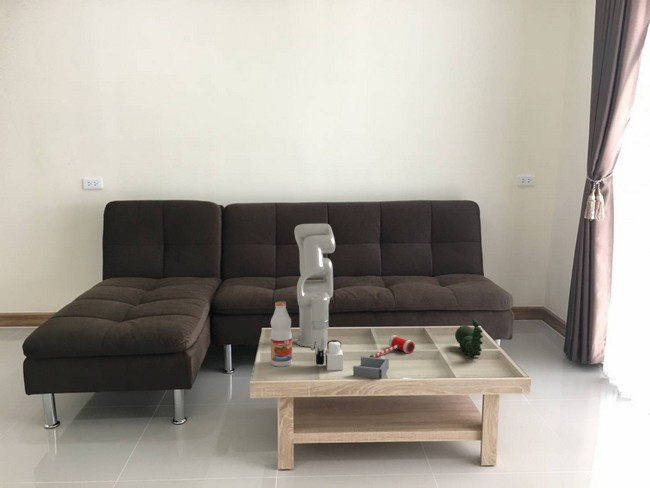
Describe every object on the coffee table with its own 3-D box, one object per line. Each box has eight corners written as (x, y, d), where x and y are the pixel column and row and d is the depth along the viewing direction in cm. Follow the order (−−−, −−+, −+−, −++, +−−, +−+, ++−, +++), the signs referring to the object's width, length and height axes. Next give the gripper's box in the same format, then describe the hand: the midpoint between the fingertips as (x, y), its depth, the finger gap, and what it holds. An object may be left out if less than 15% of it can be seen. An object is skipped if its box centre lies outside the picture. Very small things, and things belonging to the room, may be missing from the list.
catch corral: (353, 375, 246) (353, 366, 246) (361, 365, 259) (361, 356, 258) (381, 378, 243) (381, 369, 242) (388, 367, 255) (388, 359, 255)
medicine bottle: (325, 365, 259) (325, 339, 258) (341, 364, 260) (341, 338, 258) (326, 370, 252) (326, 344, 250) (343, 370, 253) (343, 343, 251)
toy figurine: (486, 363, 265) (468, 341, 289) (489, 324, 261) (471, 305, 285) (466, 364, 264) (450, 342, 289) (468, 324, 260) (452, 305, 284)
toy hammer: (379, 363, 263) (380, 349, 262) (362, 356, 272) (362, 343, 271) (415, 352, 276) (415, 339, 276) (397, 346, 286) (397, 333, 285)
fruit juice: (286, 358, 268) (285, 299, 264) (295, 364, 260) (295, 303, 256) (267, 362, 263) (266, 301, 259) (276, 368, 255) (275, 306, 251)
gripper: (317, 318, 263) (317, 357, 266) (305, 327, 249) (306, 369, 252) (333, 320, 261) (333, 359, 264) (322, 329, 247) (322, 370, 250)
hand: (320, 364), depth 258 cm, fingers closed
